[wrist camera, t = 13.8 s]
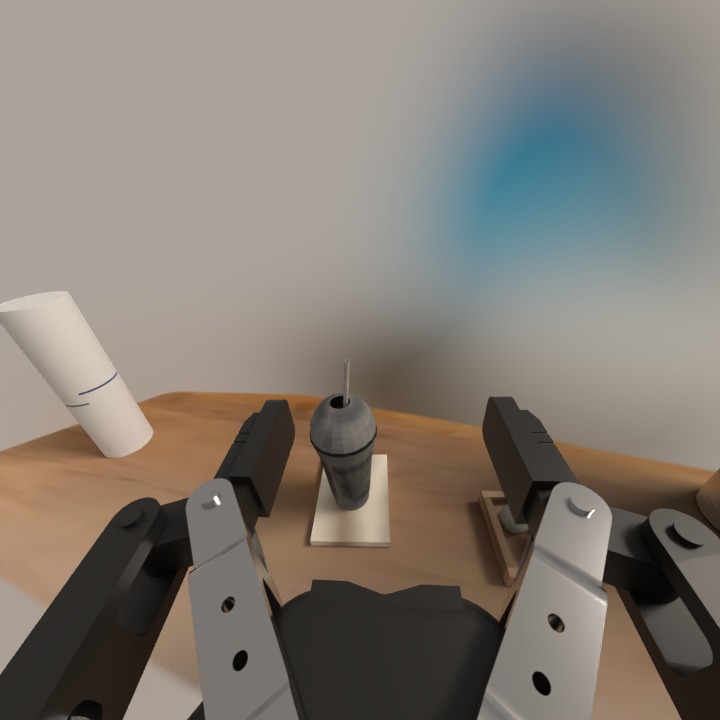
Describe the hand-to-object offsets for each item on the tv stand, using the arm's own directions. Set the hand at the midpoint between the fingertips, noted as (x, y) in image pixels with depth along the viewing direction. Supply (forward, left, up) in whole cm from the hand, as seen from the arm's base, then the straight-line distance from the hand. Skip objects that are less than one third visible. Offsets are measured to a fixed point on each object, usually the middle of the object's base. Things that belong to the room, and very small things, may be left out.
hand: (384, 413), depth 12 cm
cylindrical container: (+43, -24, -27) cm, 56 cm away
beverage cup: (+4, -14, -26) cm, 30 cm away
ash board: (+4, -14, -27) cm, 31 cm away
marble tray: (-16, -9, -27) cm, 33 cm away
